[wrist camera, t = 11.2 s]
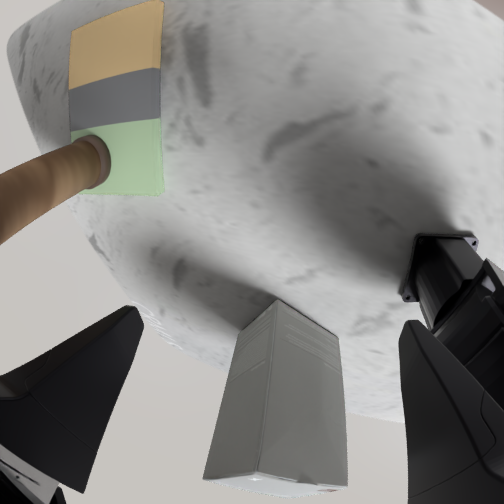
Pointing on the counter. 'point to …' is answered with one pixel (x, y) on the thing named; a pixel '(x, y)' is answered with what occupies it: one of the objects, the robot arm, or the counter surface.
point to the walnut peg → (50, 182)
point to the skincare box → (282, 410)
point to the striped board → (120, 95)
